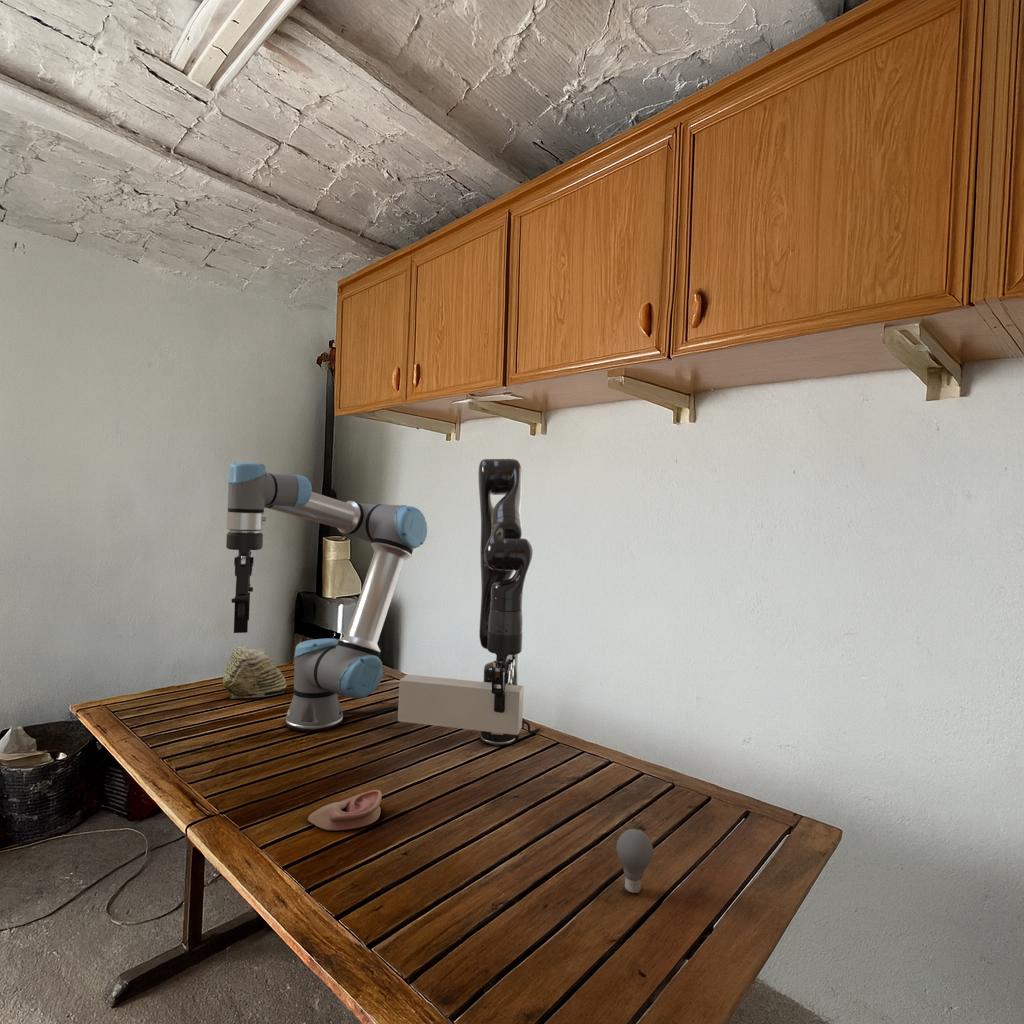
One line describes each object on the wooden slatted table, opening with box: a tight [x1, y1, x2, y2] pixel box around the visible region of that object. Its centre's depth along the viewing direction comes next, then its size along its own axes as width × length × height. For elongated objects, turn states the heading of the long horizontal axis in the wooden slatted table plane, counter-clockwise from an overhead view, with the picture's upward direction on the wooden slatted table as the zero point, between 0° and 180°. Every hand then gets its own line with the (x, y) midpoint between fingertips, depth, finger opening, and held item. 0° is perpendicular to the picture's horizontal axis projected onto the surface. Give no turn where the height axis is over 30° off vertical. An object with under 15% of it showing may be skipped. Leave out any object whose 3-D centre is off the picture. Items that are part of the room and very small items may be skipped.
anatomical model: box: [307, 789, 383, 831], centre depth 126 cm, size 13×4×12 cm
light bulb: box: [615, 828, 654, 894], centre depth 106 cm, size 6×6×10 cm
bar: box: [397, 674, 525, 736], centre depth 139 cm, size 27×5×9 cm, turn 79°
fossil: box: [222, 646, 288, 699], centre depth 198 cm, size 9×18×15 cm, turn 132°
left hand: (241, 626), depth 142 cm, fingers open, 13 cm apart
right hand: (502, 707), depth 137 cm, fingers closed on bar, 5 cm apart
